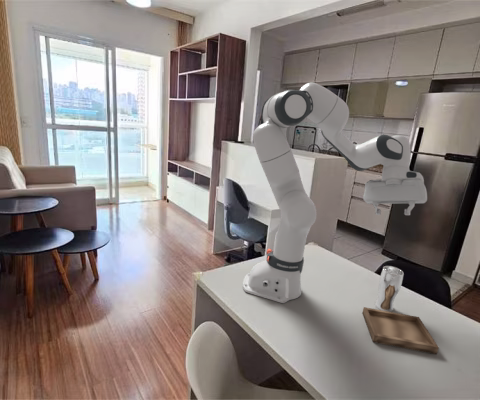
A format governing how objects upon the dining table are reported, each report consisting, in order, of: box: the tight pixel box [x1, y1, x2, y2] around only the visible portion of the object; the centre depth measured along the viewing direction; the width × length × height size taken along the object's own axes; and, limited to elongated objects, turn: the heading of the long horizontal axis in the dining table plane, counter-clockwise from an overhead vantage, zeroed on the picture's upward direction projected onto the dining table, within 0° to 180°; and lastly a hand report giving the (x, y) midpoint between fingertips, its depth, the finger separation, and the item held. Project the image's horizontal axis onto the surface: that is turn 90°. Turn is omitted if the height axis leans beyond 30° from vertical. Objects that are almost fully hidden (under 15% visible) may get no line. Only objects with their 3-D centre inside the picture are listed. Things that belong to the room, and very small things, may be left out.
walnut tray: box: [361, 306, 440, 355], centre depth 94 cm, size 18×14×2 cm
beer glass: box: [374, 265, 405, 312], centre depth 105 cm, size 7×7×15 cm
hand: (392, 214), depth 102 cm, fingers open, 8 cm apart
